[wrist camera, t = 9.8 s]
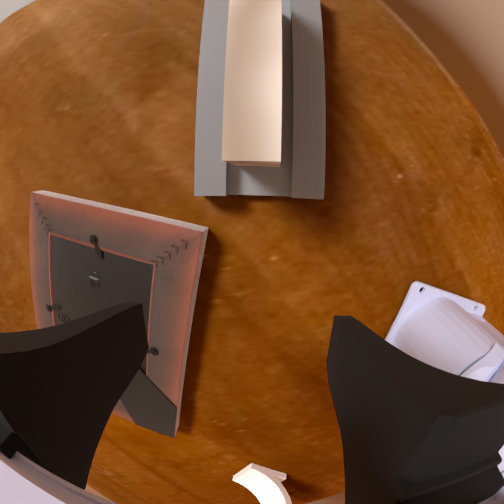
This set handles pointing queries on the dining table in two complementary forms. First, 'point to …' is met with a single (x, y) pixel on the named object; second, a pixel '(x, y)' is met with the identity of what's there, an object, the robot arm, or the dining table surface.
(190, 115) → the dining table surface
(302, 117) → the grooved channel
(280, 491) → the headphone stand
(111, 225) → the picture frame
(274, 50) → the frame
